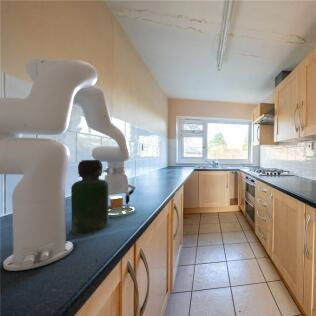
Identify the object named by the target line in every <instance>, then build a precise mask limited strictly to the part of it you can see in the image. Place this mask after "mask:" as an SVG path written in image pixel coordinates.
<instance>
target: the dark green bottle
mask: <svg viewBox="0 0 316 316" xmlns="http://www.w3.org/2000/svg"><path fill="white" fill-rule="evenodd" d="M103 167H104V166H103V162H100V161H99V160H95V159H81V160H80V161H79V163H78V165H77V174H78V177H79V178H81V179H80V180H77V181H75V182H74V183H73V184H72V185H71V187H70V191H71V193H70V197H71V198H70V200H71V203H70V205H71V208H70V209H71V212H70V213H71V233H73V234H78V235H80V234H81V235H83V234H90V233H94V232H98V231H101V230H103V229H105V228H107V227H108V226H109V217H108V210H109V195H108V183H107V182H106V181H105V180H104V179H101V178H100V177H101V176H102V174H103V169H104V168H103Z"/></svg>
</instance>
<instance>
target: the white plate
mask: <svg viewBox="0 0 316 316" xmlns="http://www.w3.org/2000/svg"><path fill="white" fill-rule="evenodd" d="M134 212H135V207H133V206H123V207H117V208H110V209H108V218H119V217H125V216H128V215H132V214H133V213H134Z"/></svg>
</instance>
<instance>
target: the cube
mask: <svg viewBox="0 0 316 316" xmlns="http://www.w3.org/2000/svg"><path fill="white" fill-rule="evenodd" d="M118 207H124V197H123V196H122V195H115V196H114V195H113V196H109V208H110V209H113V208H118Z"/></svg>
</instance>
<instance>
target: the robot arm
mask: <svg viewBox="0 0 316 316" xmlns="http://www.w3.org/2000/svg"><path fill="white" fill-rule="evenodd" d="M25 68H26V72H27V74H28V76H29V78H30V79H31V81H33V83H32V86H31V89H30V91H29V92H30V93H29V94H28V96H26V97H24V98H19V97H0V175H19V176H20V175H21V176H22V178H20V180H19V182H17V183H16V185H15V186H14V189H13V190H12V194H11V204H12V205H11V206H12V208H11V209H12V254H11V255H9V256H7V257H6V258H5V260H3V264H2V268H3V270H6V271H9V272H10V271H12V272H14V271H15V272H18V271H25V270H33V269H35V268H40V267H43V266H46V265H49V264H52V263H54V262H57V261H58V260H60V259H63V258H64V257H66V256H68V255H69V254H71V252H72V251H73V249H74V244H73V242H71V241H69V240H67V235H66V234H67V231H66V229H67V227H66V225H67V224H66V223H67V222H66V217H67V215H66V182H67V181H66V179H67V173H68V168H69V163H70V159H71V153H70V149H69V147H68V146H67V145H66V144H64V143H63V142H62V141H59V140H56V139H52V138H45V137H22V136H23V135H30V136H31V135H35V136H57V135H59V136H60V135H62V134H64V133H66V131H67V129H68V127H69V124H70V120H71V114H72V110H73V106H75V107H81V110H82V113H83V116H84V119H85V120H84V121H85V122H86V125H87V127H88V128H89V129H91V130H94V131H96V132H98V133H100V134H103V135H105V136H107V137H109V138H110V139H112V140H113V141H115V142H116V145H115V144H114V145H107V144H106V145H105V144H100V145H97V146H94V147H93V148H92V151H91V156H92V158H93V160H99V161H100V162H101V163H106V168H102V173H105V174H104V178H103V180H105V181H106V182H107V183H108V196H114V195H115V196H116V195H122V194H125V201H124V203H125V204H126V205H129V203H130V197H131V195H132V194H133V193H134V191H135V190H136V188H137V187H136V186H134V185H132V184H129V178H128V173H126V162H127V161H128V160H129V159H130V158H131V149H130V144H129V140H128V138H127V136H126V135H125V134H124V132H122V130H121V129H120V128H119V127H118V126H116V125H115V124H114V122H113V121H112V116H111V113H110V109H109V105H108V101H107V96H106V93H105V90H104V89H103V88H101V87H100V86H99V85H96V83H97V81H98V71H97V69H96V67H95V66H94V65H92V64H91V63H89V62H87V61H85V60H80V59H68V60H67V59H59V58H48V57H32V58H30V59H29V60H28V61H27V62H26V65H25ZM130 188H131V189H130ZM129 189H130V190H129Z"/></svg>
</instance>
